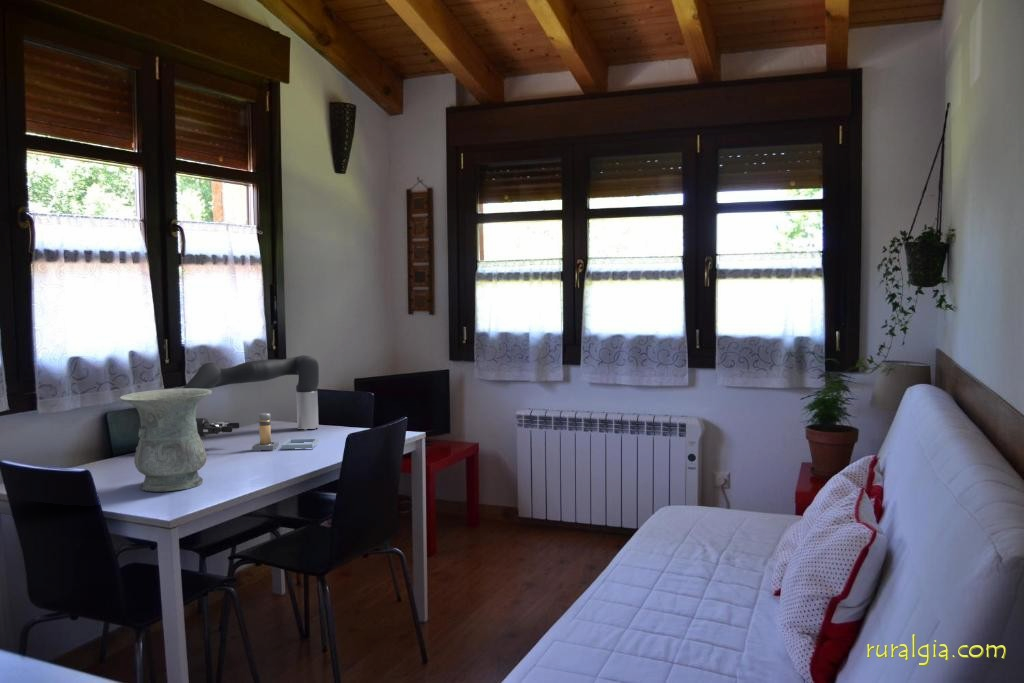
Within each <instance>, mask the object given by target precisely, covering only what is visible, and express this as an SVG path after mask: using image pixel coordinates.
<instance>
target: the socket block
mask: <svg viewBox="0 0 1024 683" xmlns="http://www.w3.org/2000/svg"><path fill="white" fill-rule="evenodd" d="M271 443H272V445H262V446H260V445H259V444H260V441H258V442H257V443H254V445H252V447H251V448H252V450H251V451H252V452H262V451H261V450H274V449H275V448H276V447H278V446H279V441H271ZM279 447H280V446H279ZM279 447H278V448H279ZM276 449H277V448H276ZM276 449H275V450H276ZM275 450H274V451H275Z"/></svg>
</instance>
